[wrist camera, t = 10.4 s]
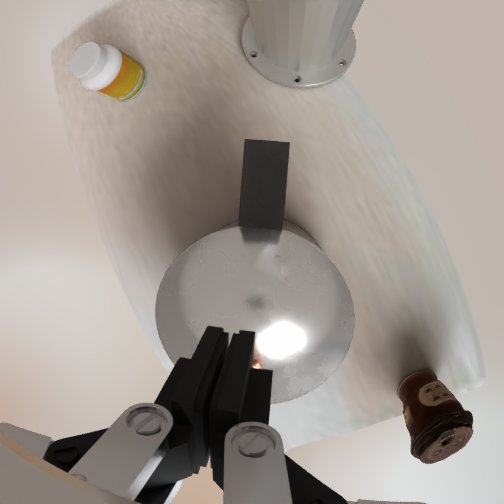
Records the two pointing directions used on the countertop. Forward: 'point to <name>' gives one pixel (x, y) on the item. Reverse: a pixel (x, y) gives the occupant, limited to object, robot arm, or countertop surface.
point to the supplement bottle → (107, 71)
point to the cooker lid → (261, 286)
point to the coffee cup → (433, 417)
